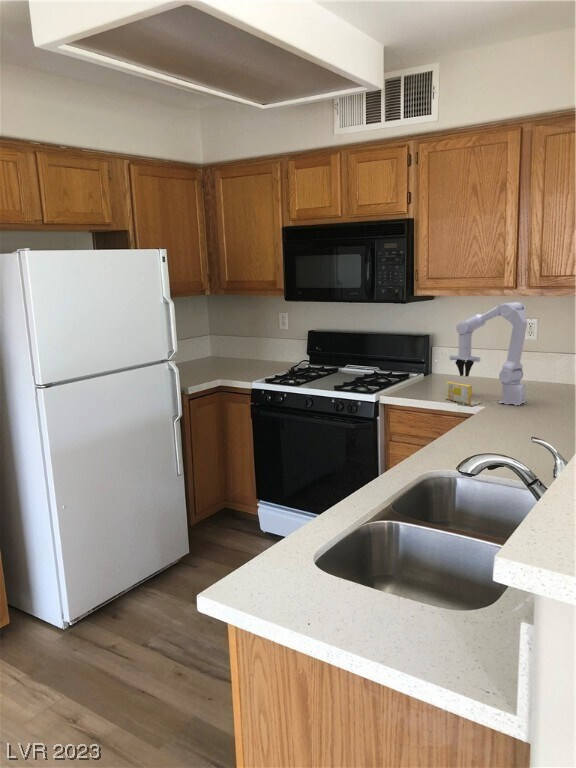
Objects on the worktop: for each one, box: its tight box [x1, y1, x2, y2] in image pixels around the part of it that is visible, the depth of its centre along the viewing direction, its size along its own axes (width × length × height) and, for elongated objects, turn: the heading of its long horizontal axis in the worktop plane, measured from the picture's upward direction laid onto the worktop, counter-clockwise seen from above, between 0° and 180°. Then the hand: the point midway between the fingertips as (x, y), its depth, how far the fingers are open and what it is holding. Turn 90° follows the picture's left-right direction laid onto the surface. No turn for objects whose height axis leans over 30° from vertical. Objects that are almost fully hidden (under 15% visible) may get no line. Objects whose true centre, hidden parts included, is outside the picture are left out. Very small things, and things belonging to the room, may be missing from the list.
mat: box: [457, 402, 478, 408], centre depth 271 cm, size 7×10×1 cm
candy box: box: [445, 381, 473, 405], centre depth 274 cm, size 16×2×8 cm, turn 22°
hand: (464, 376), depth 287 cm, fingers open, 2 cm apart
